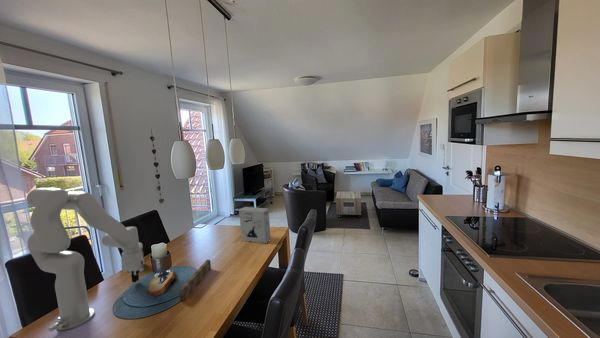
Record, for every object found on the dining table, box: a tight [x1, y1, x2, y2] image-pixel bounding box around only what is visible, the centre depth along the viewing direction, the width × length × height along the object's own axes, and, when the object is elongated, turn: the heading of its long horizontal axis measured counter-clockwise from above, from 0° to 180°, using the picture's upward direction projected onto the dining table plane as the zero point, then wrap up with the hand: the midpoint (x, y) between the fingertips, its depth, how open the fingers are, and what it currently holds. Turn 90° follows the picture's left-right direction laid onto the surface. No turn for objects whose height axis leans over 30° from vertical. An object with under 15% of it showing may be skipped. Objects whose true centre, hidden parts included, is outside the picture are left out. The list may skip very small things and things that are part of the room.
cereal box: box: [238, 206, 271, 244], centre depth 188 cm, size 22×8×25 cm, turn 67°
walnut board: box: [178, 259, 212, 302], centre depth 134 cm, size 30×2×6 cm, turn 176°
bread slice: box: [147, 271, 176, 297], centre depth 136 cm, size 18×18×4 cm
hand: (135, 280), depth 137 cm, fingers closed
